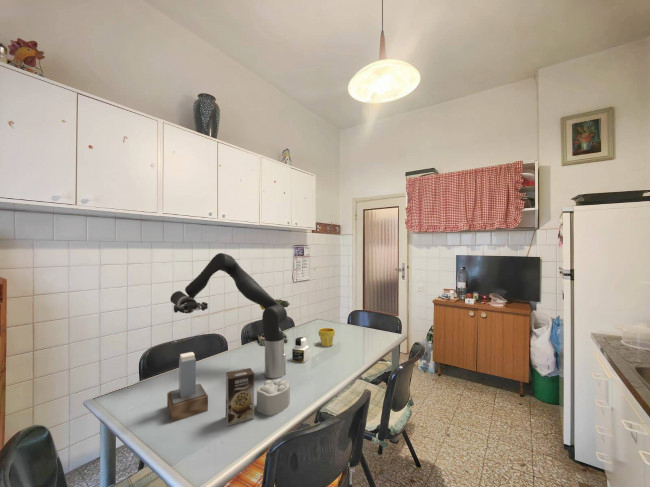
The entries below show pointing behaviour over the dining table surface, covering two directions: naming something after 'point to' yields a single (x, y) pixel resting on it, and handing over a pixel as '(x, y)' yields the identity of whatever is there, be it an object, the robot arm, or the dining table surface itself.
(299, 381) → the dining table surface
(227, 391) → the coffee box
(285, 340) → the cordless drill
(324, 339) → the plant pot
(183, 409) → the stand
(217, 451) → the dining table surface
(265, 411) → the lumpy-topped squat cylinder
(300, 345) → the medicine bottle
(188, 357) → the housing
